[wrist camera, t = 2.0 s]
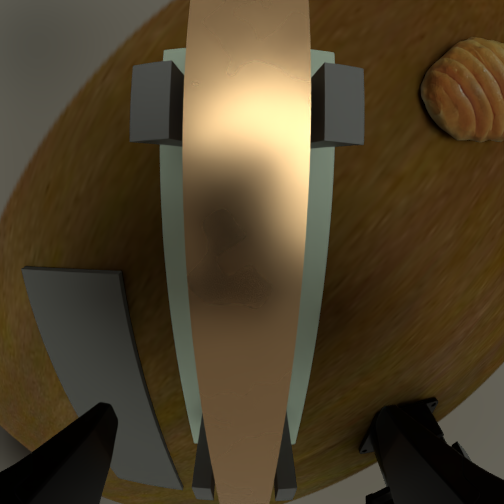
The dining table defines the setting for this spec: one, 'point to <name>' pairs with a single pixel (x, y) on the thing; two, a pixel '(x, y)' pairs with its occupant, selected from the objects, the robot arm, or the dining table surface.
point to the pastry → (468, 90)
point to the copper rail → (245, 225)
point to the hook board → (317, 230)
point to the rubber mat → (101, 363)
